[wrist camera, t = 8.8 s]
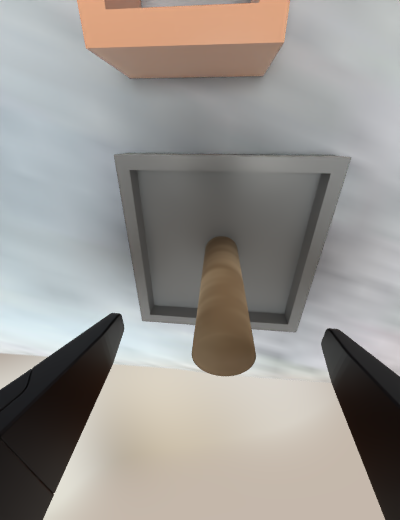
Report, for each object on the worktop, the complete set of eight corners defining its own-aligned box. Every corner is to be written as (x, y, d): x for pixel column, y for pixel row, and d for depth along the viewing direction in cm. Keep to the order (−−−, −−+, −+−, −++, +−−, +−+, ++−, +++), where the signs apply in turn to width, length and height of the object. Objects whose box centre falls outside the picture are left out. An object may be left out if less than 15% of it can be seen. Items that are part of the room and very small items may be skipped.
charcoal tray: (149, 305, 20) (142, 320, 19) (127, 153, 14) (113, 154, 12) (289, 315, 19) (296, 332, 18) (334, 155, 13) (351, 157, 11)
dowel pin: (204, 264, 17) (192, 373, 9) (205, 235, 15) (191, 331, 8) (235, 265, 16) (251, 378, 9) (238, 236, 15) (260, 335, 7)
